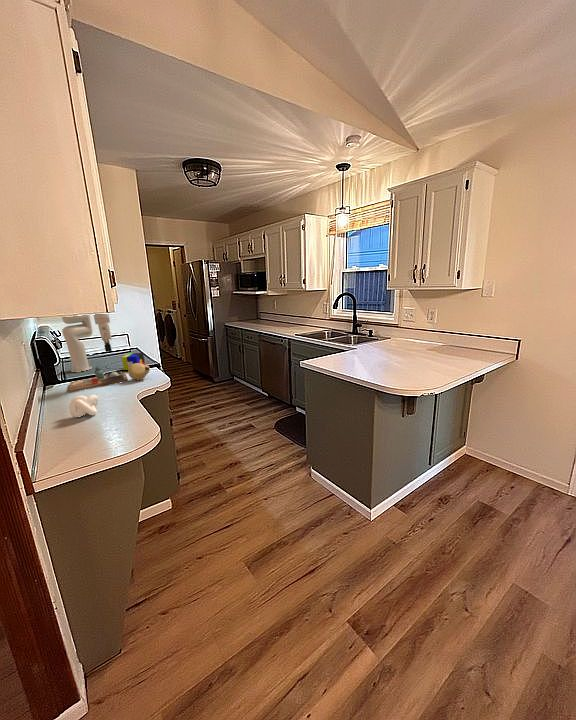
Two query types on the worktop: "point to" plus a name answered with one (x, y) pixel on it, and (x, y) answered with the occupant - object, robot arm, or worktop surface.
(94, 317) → the robot arm
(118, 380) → the game board
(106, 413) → the worktop surface
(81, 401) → the white knot
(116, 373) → the dome
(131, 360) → the puzzle toy
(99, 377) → the pawn
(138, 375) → the toy pig
